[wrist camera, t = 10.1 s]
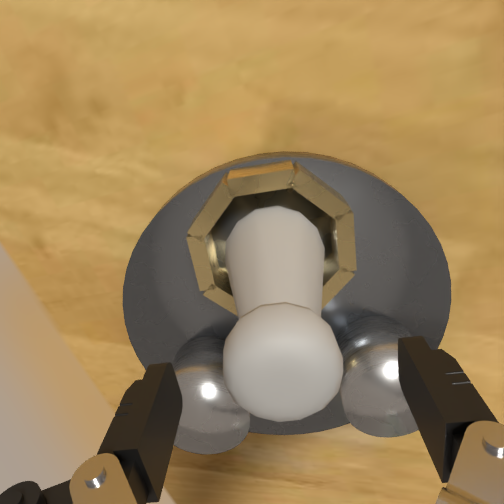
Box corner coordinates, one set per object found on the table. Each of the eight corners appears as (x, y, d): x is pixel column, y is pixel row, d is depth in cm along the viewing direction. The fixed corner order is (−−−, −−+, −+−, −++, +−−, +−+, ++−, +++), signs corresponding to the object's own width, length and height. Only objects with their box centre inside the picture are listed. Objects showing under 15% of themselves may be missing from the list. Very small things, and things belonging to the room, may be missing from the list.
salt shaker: (329, 262, 25) (390, 427, 13) (248, 289, 26) (238, 466, 14) (300, 180, 23) (342, 292, 11) (213, 214, 24) (166, 350, 12)
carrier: (446, 123, 23) (516, 140, 17) (433, 401, 32) (475, 479, 26) (88, 181, 25) (29, 217, 19) (174, 427, 35) (154, 506, 28)
